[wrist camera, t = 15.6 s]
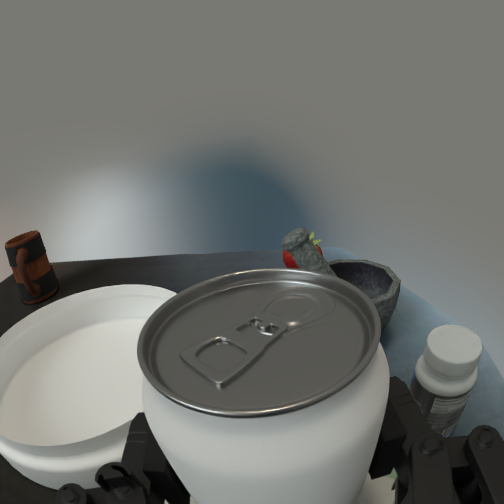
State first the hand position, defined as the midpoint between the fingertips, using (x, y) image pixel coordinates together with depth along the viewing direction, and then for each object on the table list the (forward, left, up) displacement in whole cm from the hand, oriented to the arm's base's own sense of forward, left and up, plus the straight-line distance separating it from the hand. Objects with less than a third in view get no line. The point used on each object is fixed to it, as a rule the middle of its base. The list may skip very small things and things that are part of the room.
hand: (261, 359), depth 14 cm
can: (-4, +4, -7) cm, 8 cm away
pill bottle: (-8, -9, -12) cm, 17 cm away
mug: (+52, +4, -12) cm, 54 cm away
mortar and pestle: (+4, -16, -12) cm, 21 cm away
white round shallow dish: (+20, +5, -12) cm, 24 cm away
